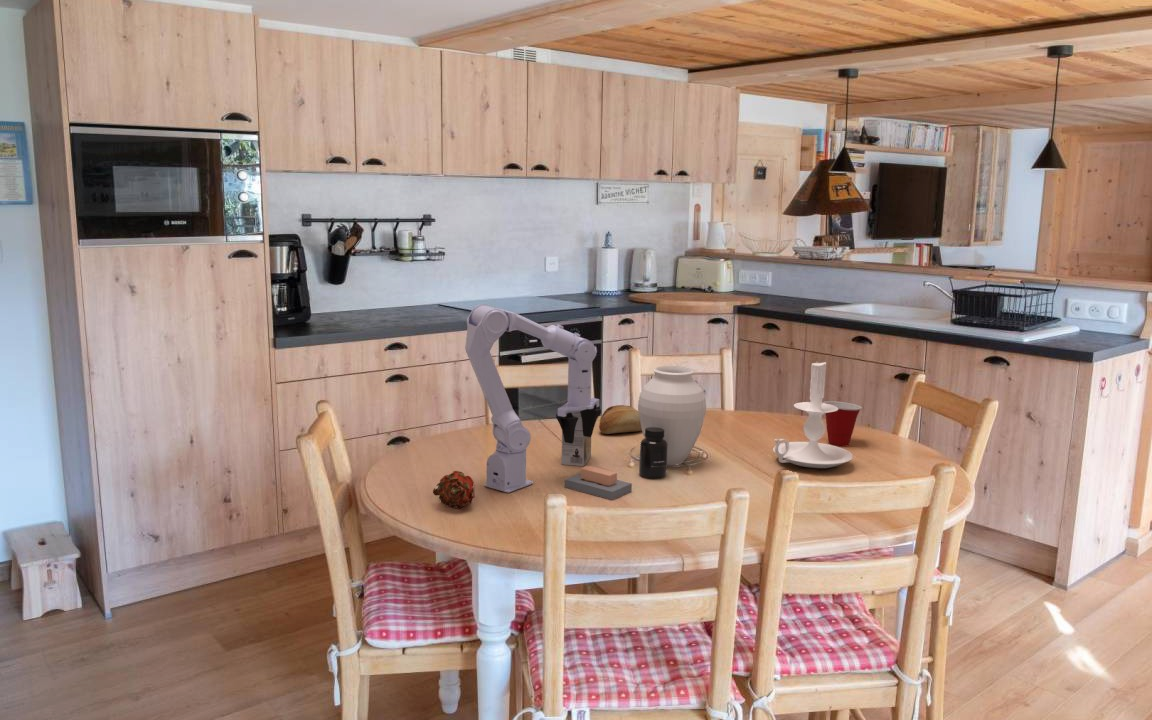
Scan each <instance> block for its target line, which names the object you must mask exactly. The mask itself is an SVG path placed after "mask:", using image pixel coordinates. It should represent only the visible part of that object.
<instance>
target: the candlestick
mask: <svg viewBox="0 0 1152 720" xmlns="http://www.w3.org/2000/svg"><path fill="white" fill-rule="evenodd" d="M815 361H816V362H812V363H811V366H810V384H809V400H810V401H802V402H796V403H795V404H793V407H794V408H795V409H798V410H801V411H802V412H806V413H807V414H808V417H807V419H806V421H805V422H804V424H803V427H802V428H803V429H802V430H803V433H804V435H805V436H806V438H807V439H808V441H788V440H787V439H786V438H785V439H784V438H780V439H778V438H775V439H773V441H774V442H775V445H774V447H772V448H773V449H772V451H773V452H774V454H776V455H777V457H778V462H779V463H782V464H784V463H785V464H786V463H791V464H793V465H797V466H800V467H804V468H809V469H810V468H813V469H828V468H834V467H838V466H840V465H842V464H844V463H847V462H850V461H851V460H852V459H853V458H854V456H853V454H852V452H850V451H849V450H847V449H845V448H842V447H841V446H834V445H831V444H829V443H822V442H819V441H818V440H820V439H821V438H822V437H823V436H824V434H825V432H826V425H825V422H824V421H823V415H824V414H825V413H828V412H834V411H837V410H838V408H837V407H836V406H833V405H830V404H825V403H823V399H824V398H825V385H826V375H827V374H826V372H827V362H826V361H824V362H818V361H817V360H815ZM825 415H826V414H825Z"/></svg>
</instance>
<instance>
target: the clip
mask: <svg viewBox="0 0 1152 720" xmlns="http://www.w3.org/2000/svg"><path fill="white" fill-rule="evenodd" d="M580 473H581V479H584V481H587V482H596V483H600V484H601V485H602V486H606V487H608V486H610V485H613V484H615V483H617V480H618V479H617V477H618V473H617V472H616V471H615V472H614V471H610V470H608V469H603V468H599V467H595V466H591V465H585V466H583V467H581V468H580Z"/></svg>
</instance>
